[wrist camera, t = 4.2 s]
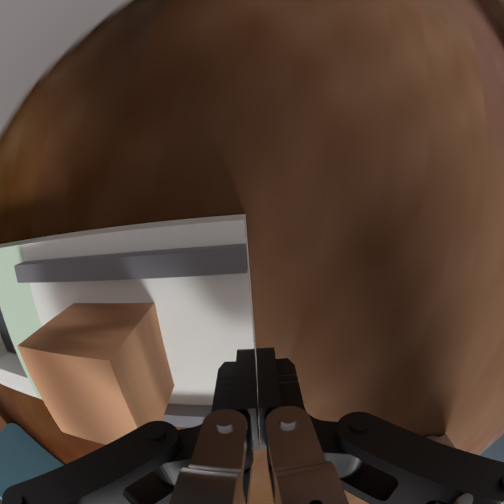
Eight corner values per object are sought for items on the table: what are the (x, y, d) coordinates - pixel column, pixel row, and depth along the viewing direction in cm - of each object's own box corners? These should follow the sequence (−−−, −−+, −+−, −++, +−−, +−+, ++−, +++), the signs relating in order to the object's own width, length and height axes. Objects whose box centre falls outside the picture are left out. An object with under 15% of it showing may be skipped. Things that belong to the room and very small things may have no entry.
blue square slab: (8, 425, 20) (-28, 472, 9) (12, 417, 20) (-29, 469, 8) (71, 479, 22) (45, 532, 11) (80, 476, 22) (53, 535, 10)
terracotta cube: (154, 302, 12) (109, 360, 8) (174, 385, 13) (150, 452, 9) (73, 303, 12) (17, 345, 8) (98, 378, 14) (61, 431, 9)
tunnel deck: (245, 214, 15) (243, 222, 11) (259, 395, 17) (261, 437, 13) (-25, 248, 15) (-55, 259, 11) (11, 366, 17) (-11, 386, 14)
